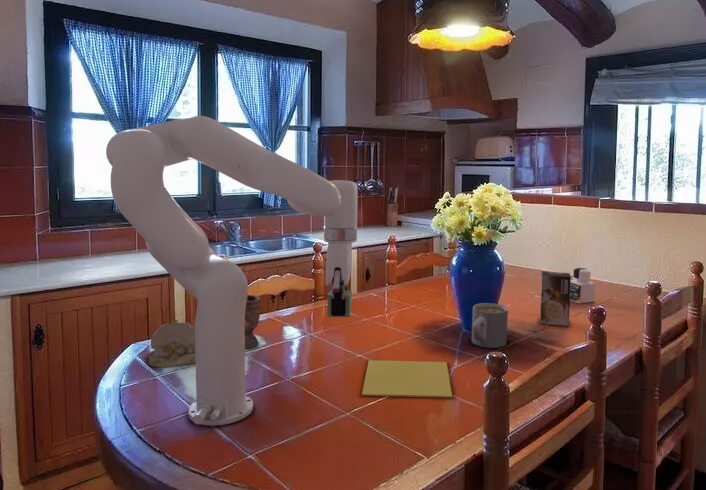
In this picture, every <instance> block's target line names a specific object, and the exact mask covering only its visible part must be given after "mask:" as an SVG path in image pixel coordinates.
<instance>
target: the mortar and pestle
mask: <svg viewBox="0 0 706 490" xmlns="http://www.w3.org/2000/svg"><path fill="white" fill-rule="evenodd" d="M240 269H241V270H242V271H243V272H244V274H245V275H246V272H245V269H243V268H240ZM260 317H261V297H260V296H258V295H252V294H247V301H246V308H245V350H247V349H251V348H254V347H257V346H258V345H259V341H258V338H257V337H256V335H255V334H254V330H255V329H256V328H257V327H258V325H259V323H260Z"/></svg>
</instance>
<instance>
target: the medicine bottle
mask: <svg viewBox="0 0 706 490" xmlns="http://www.w3.org/2000/svg"><path fill="white" fill-rule="evenodd" d="M591 273H592V272H591V270H590V269H588V268H586V267H577V268H574V269H573V275H572V279H571V285H570V302H571V301H572V302H575V303H577V304H587V303H594V302H595V294H596V283H595V282H592V281H591V275H592V274H591Z"/></svg>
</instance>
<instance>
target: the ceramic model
mask: <svg viewBox="0 0 706 490" xmlns="http://www.w3.org/2000/svg"><path fill="white" fill-rule="evenodd" d="M150 349H151V350H152V351H151V352H149V353H148V354H147V358H148V364H149V365H150V366H152V367H157V368H167V367H168V368H169V367H176V366H183V365H189V364H196V358H195V325H194V326H193V325H191V323H189V322H187V321H185V322H179V320H178V319H175V320H172V321H171V323H163V324H160V326H159V327H158V328H157V329H156V331H154V333H152V335H151V338H150Z"/></svg>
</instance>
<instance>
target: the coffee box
mask: <svg viewBox="0 0 706 490" xmlns="http://www.w3.org/2000/svg"><path fill="white" fill-rule="evenodd" d="M571 280H572V276H571V273H570V272H558V271H544V270H541V280H540V281H541V284H540V307H539V308H540V309H539V324H540V325H551V326H563V327H569V326H570V309H571V300H570V285H571Z"/></svg>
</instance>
